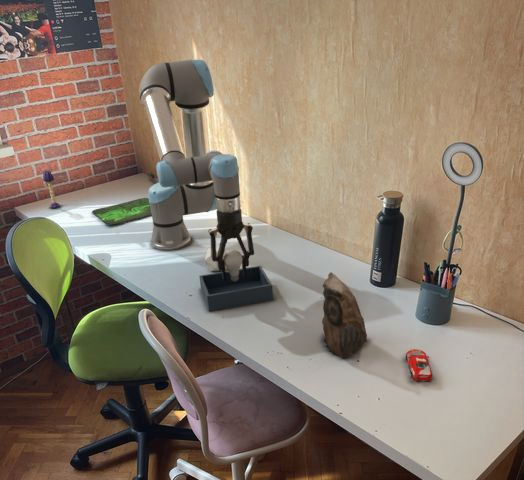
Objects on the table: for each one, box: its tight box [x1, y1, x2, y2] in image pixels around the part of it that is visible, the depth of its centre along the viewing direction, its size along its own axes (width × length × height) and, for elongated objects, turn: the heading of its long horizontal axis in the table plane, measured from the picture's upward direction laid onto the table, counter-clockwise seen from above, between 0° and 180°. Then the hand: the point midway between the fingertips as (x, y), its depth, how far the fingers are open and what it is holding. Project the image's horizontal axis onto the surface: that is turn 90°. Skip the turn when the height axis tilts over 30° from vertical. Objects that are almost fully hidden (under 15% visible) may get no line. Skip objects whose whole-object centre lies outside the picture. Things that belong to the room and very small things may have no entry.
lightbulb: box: [223, 248, 243, 282], centre depth 181 cm, size 6×6×11 cm
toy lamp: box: [42, 169, 61, 210], centre depth 257 cm, size 5×5×17 cm
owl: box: [321, 271, 368, 359], centre depth 156 cm, size 13×13×20 cm
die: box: [204, 246, 227, 272], centre depth 201 cm, size 8×9×10 cm
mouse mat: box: [91, 197, 152, 226], centre depth 252 cm, size 27×22×1 cm
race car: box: [405, 348, 433, 384], centre depth 149 cm, size 13×5×4 cm, turn 177°
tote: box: [198, 265, 274, 312], centre depth 186 cm, size 15×21×6 cm
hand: (234, 276), depth 184 cm, fingers closed on lightbulb, 6 cm apart
